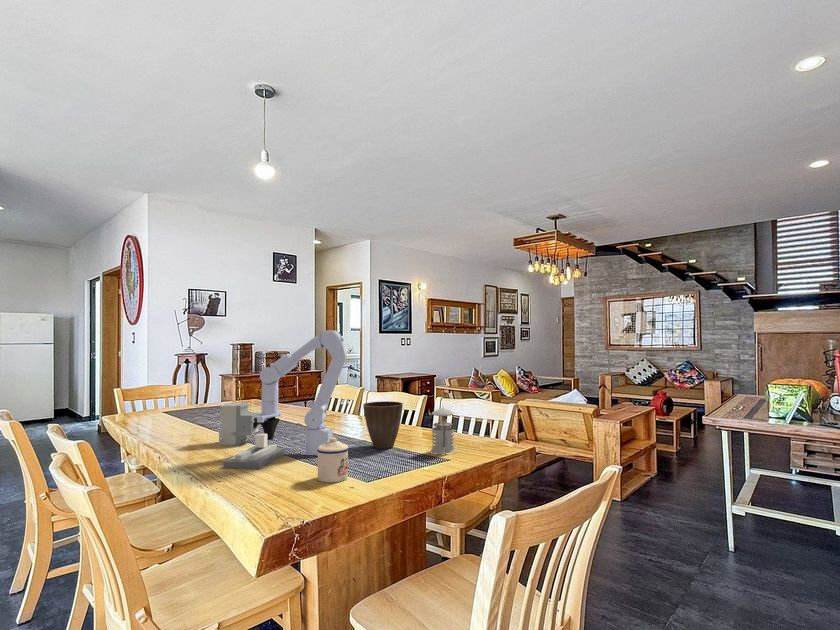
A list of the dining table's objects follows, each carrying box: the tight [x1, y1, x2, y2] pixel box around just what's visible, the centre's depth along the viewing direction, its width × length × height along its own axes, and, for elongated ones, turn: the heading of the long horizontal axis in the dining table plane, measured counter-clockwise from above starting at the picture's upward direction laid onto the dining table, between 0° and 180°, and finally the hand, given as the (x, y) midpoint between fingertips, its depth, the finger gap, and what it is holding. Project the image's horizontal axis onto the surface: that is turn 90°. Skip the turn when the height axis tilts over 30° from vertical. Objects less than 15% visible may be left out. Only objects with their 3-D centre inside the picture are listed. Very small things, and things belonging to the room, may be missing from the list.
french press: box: [430, 381, 457, 455], centre depth 166 cm, size 10×12×25 cm
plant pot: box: [362, 400, 404, 449], centre depth 175 cm, size 15×15×16 cm
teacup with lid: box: [317, 436, 350, 484], centre depth 137 cm, size 12×9×12 cm
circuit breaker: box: [218, 402, 261, 446], centre depth 182 cm, size 8×14×15 cm, turn 89°
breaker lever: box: [254, 433, 268, 452], centre depth 159 cm, size 3×3×6 cm
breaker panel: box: [223, 444, 288, 470], centre depth 156 cm, size 20×12×4 cm, turn 172°
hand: (269, 439), depth 165 cm, fingers closed
